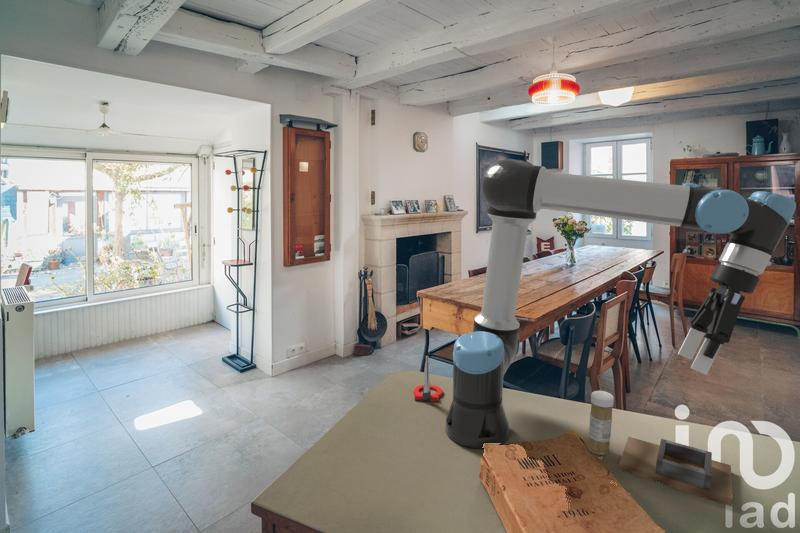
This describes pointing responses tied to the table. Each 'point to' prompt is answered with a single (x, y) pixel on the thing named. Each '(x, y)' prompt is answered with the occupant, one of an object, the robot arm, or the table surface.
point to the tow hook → (427, 388)
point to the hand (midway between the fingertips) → (690, 363)
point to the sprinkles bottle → (600, 422)
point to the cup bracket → (679, 468)
